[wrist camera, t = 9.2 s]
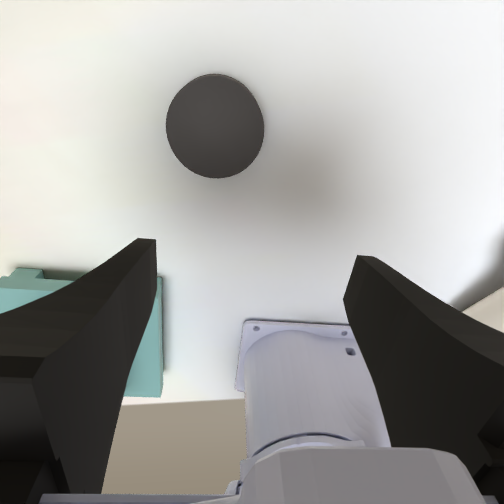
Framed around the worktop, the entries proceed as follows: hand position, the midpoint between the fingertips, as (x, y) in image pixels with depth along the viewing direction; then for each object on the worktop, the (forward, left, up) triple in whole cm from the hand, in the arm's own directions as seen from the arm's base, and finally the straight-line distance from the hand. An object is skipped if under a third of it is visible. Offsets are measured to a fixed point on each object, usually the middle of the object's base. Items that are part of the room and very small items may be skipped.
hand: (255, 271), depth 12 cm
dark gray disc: (+2, -3, -10) cm, 11 cm away
